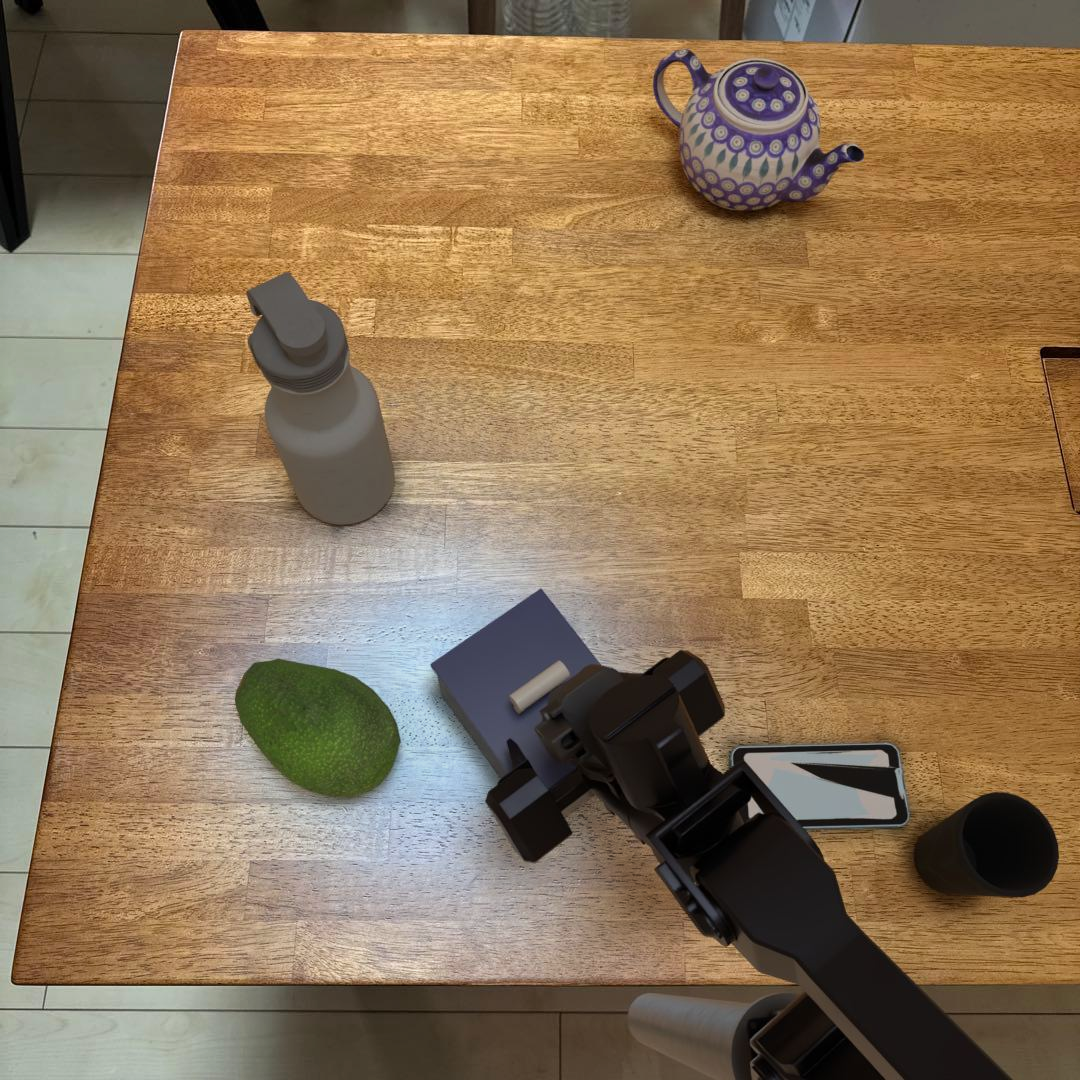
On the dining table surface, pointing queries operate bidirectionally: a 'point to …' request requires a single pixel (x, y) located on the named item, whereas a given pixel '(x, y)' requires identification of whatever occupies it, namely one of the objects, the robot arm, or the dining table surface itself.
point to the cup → (989, 849)
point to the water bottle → (319, 406)
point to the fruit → (318, 726)
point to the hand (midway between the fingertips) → (557, 709)
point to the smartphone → (831, 783)
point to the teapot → (750, 134)
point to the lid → (515, 678)
